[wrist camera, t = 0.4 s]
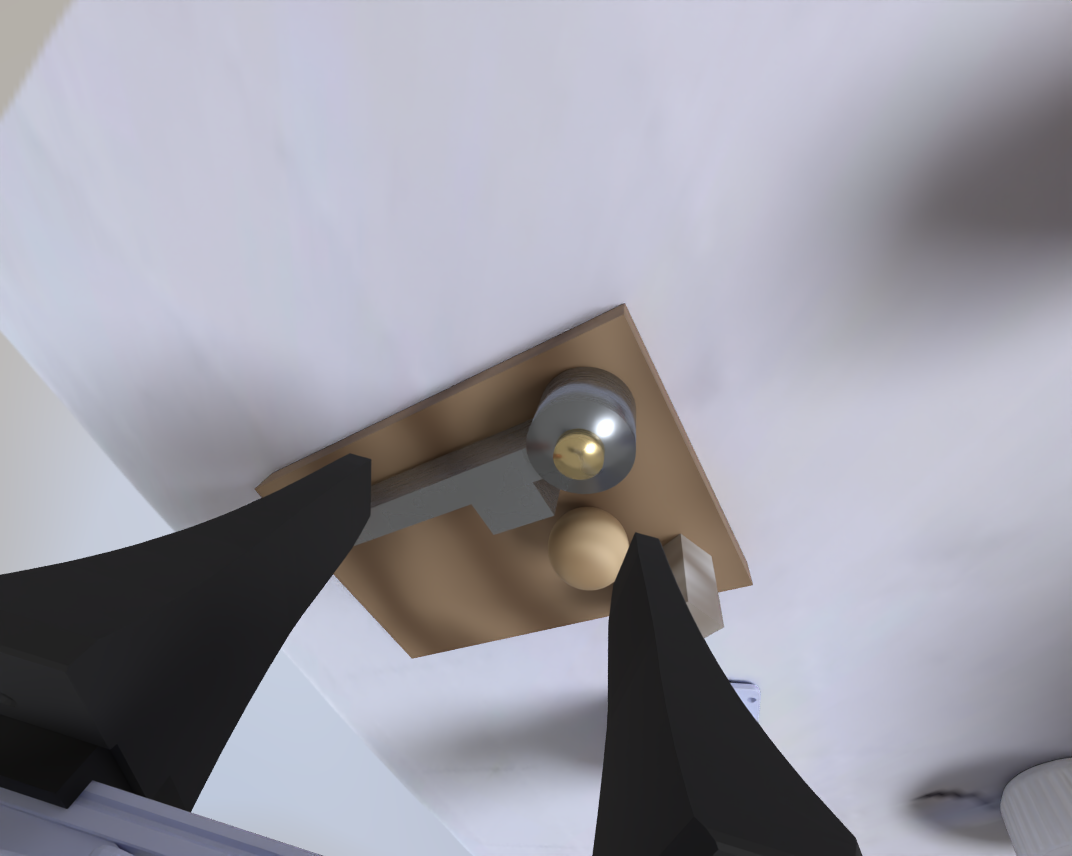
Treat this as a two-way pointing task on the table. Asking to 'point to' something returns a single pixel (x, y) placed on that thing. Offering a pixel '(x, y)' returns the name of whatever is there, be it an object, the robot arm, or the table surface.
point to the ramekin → (1040, 809)
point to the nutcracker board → (522, 553)
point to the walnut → (587, 548)
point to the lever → (522, 461)
